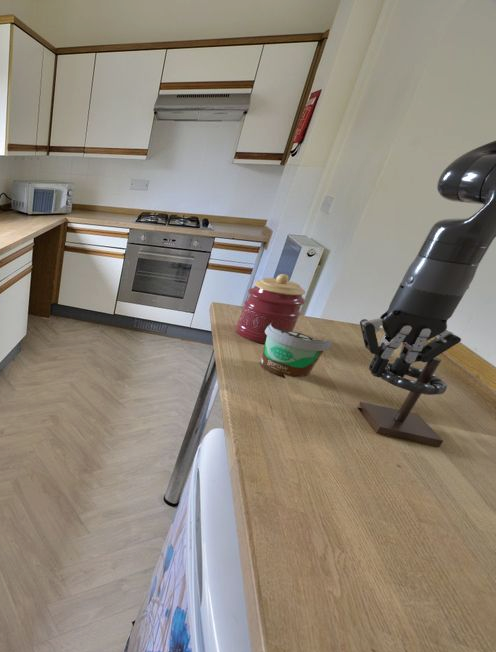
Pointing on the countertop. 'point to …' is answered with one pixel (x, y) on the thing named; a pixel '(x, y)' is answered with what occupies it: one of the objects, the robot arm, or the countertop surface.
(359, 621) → the countertop surface
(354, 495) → the countertop surface
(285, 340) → the food container
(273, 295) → the kitchen canister
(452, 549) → the countertop surface
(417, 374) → the dark grey ring
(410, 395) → the brown peg stand
